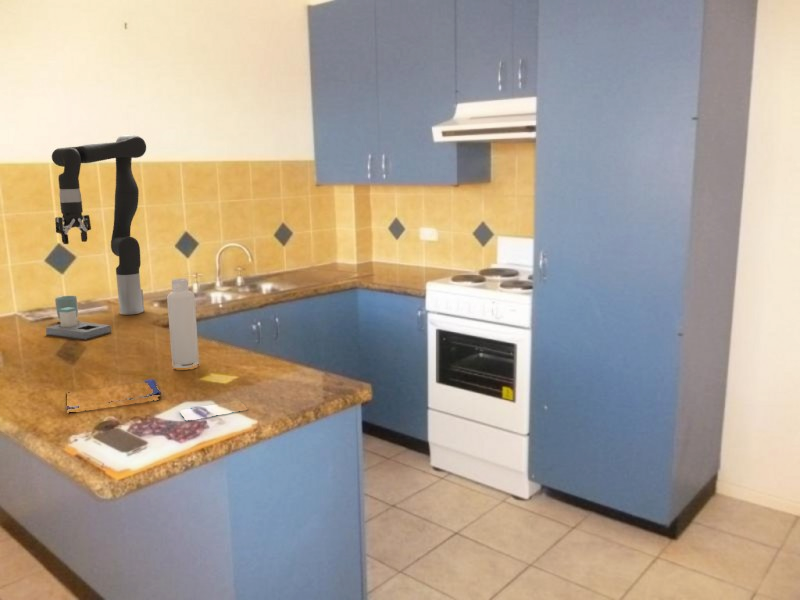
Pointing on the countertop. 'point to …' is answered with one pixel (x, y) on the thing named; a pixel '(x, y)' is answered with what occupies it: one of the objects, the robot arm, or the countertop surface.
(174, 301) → the bottle
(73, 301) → the cup
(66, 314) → the plug
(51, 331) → the panel
